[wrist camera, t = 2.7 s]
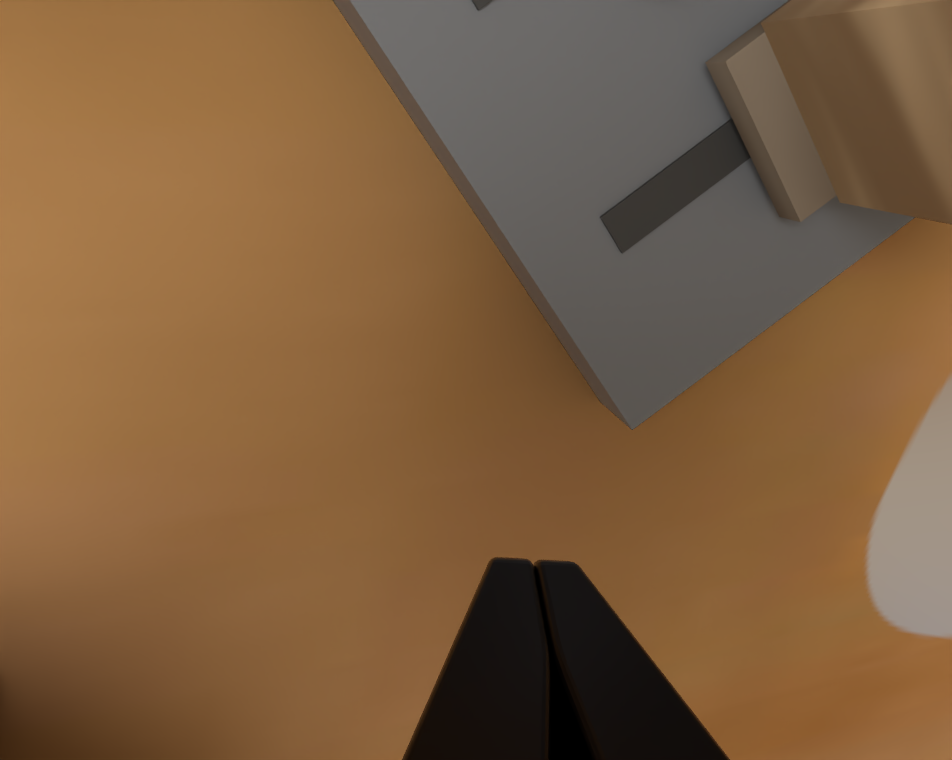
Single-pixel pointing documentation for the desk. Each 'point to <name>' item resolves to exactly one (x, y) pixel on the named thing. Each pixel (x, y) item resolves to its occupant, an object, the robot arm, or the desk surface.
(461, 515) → the desk surface
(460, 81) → the console
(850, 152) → the block
